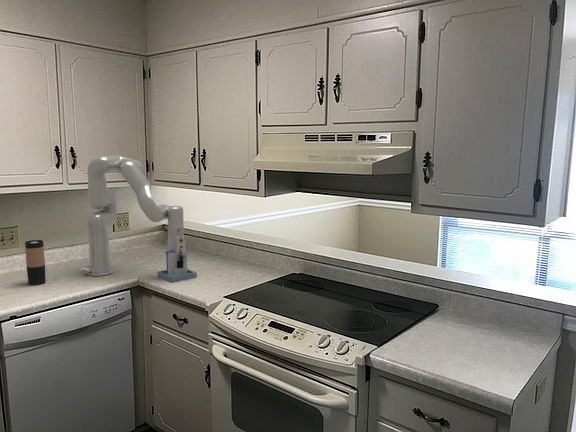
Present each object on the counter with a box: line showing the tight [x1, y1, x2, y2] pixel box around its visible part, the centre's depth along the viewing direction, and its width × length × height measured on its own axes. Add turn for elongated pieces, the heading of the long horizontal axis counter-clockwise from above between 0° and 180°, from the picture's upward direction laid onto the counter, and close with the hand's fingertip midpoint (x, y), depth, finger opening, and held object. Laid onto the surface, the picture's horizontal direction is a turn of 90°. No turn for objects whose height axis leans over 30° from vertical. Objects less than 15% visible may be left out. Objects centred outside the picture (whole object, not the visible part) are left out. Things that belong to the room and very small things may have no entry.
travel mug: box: [24, 239, 46, 286], centre depth 218 cm, size 8×8×20 cm
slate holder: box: [156, 268, 198, 283], centre depth 233 cm, size 14×14×2 cm
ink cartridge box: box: [165, 250, 188, 277], centre depth 232 cm, size 10×6×14 cm, turn 115°
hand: (176, 266), depth 232 cm, fingers closed on ink cartridge box, 6 cm apart
